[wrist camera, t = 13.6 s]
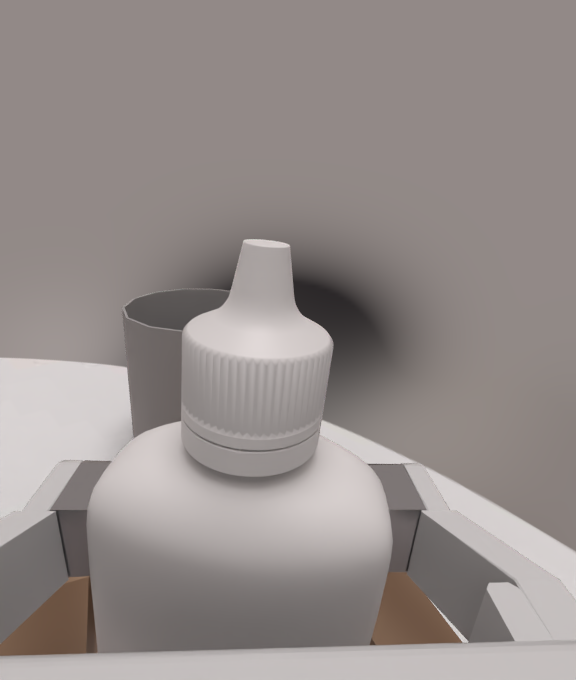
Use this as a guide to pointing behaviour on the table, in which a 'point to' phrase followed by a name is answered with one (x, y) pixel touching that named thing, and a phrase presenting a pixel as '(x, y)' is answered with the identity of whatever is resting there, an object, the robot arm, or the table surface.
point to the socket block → (80, 635)
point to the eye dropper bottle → (241, 494)
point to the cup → (160, 351)
